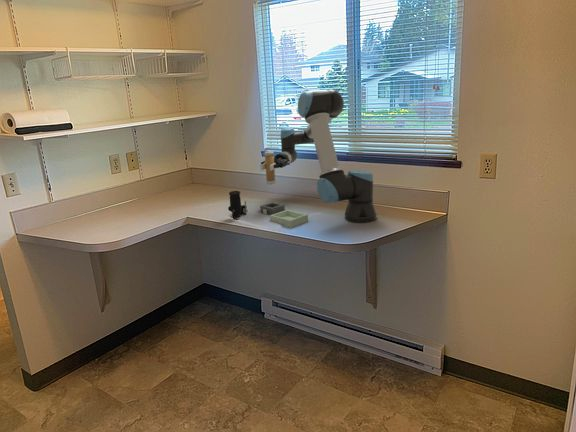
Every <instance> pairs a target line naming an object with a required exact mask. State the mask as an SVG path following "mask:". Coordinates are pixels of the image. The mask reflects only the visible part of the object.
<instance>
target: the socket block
mask: <svg viewBox="0 0 576 432" xmlns="http://www.w3.org/2000/svg"><path fill="white" fill-rule="evenodd" d="M285 207H286V206H285V204H283V203H278V202H275V201H274V202H273V201H272V202H269V203H266V204H265V203H264V204H263V205H260V207H259V208H260V210H258V211H256V212H257V213H259V214H264V215H268V216H270V215H273V214H276V213H279V212H282V211H285V210H287V209H286V208H285Z"/></svg>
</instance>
